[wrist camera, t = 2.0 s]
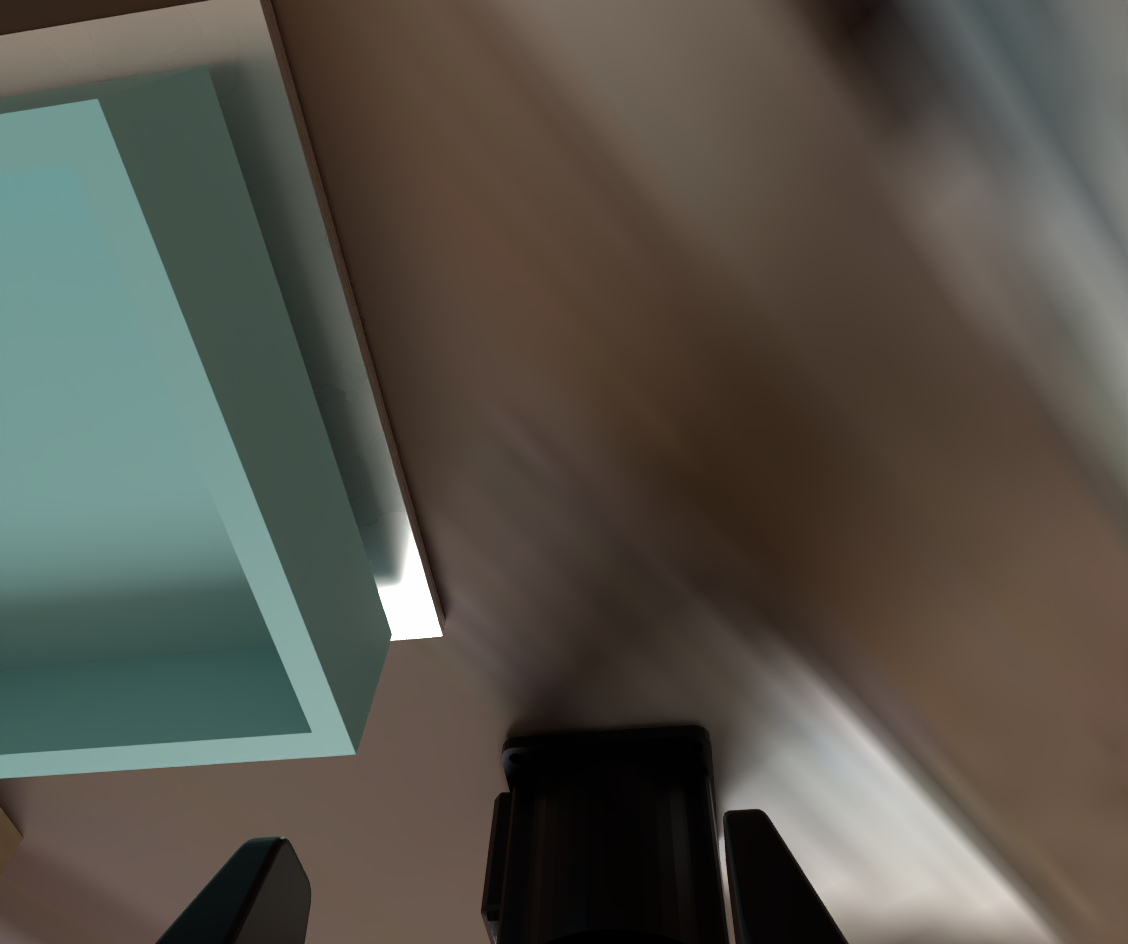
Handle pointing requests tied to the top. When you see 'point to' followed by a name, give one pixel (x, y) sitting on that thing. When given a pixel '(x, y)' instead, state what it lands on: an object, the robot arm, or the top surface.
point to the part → (7, 839)
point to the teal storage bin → (162, 456)
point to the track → (270, 243)
